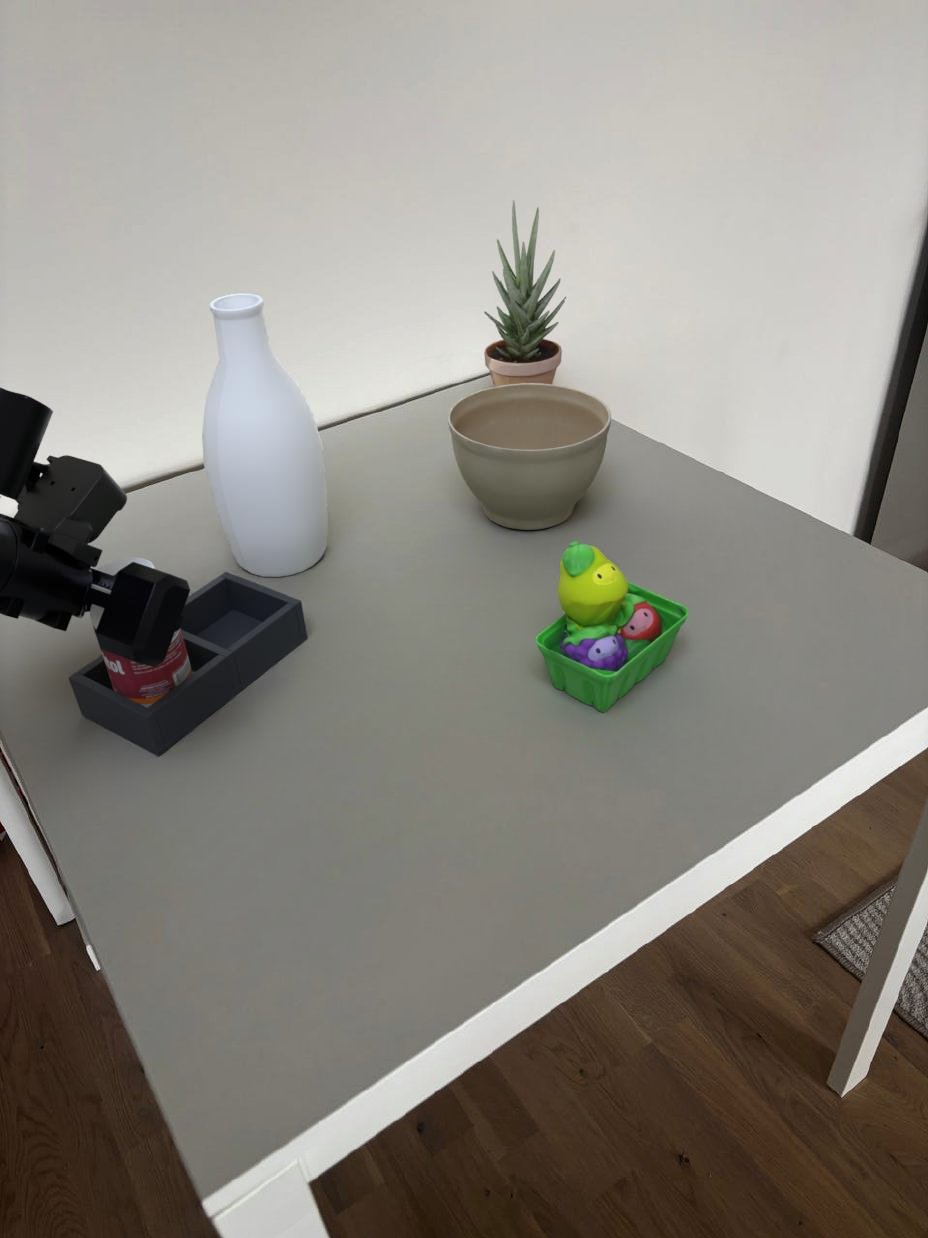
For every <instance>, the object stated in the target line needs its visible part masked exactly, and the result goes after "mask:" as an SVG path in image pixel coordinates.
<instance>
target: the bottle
mask: <svg viewBox="0 0 928 1238" xmlns="http://www.w3.org/2000/svg"><path fill="white" fill-rule="evenodd" d="M263 309H264V299H263V297H262V296H260V295H258V294H255V293H242V292H241V293H232V294H226V295H223V296H220V297H217V298H215V299H213V300H212V301H211V302H209V310H210V312H211V313H212V315H213V322H214V329H215V335H216V343H217V351H218V357H219V360H218V362H217V364H216V368H215V371H214V374H213V376H212V379H211V381H210V385H209V388H208V391H207V393H206V396H205V402H204V411H203V421H202V432H201V437H202V439H201V441H202V454H203V455H202V459H203V467H204V471H205V474H206V478H207V482H208V485H209V489H210V492H211V496H212V500H213V504H214V507H215V511H216V514H217V518H218V520H219V522H220V525H221V527H222V530H223V532H224V535H225V537H226V539H227V542H228V544H229V547H230V550H231V552H232V555H233V558H234V559H235V561H236V563H237V564H238V565H239V566H240V568H242V569H244V570H245V571H247V572H248V573H250V574H253V575H256V576H260V577H265V578H281V577H287V576H288V577H289V576H293V575H295V574H299V573H302V572H304V571H306V570H307V569H310V568H311V567H313V566H314V565H316V563H318V562H319V561H320V560H321V559H322V557H323V555H324V553H325V551H326V549H327V546H328V544H327V543H328V510H329V509H328V508H329V505H328V504H329V502H328V489H327V479H326V468H325V467H326V466H325V457H324V448H323V443H322V442H323V441H322V439H321V435H320V432H319V429H318V426H317V422H316V419H315V416H314V413H313V412H312V409H311V407H310V405H309V402H308V401H307V399H306V397H305V396H304V395H305V394H304V393H303V391H302V388H301V387H300V385H299V384H298V383H297V382H296V381H295V379H294V378H293V376H292V375H291V374H290V373H289V372H288V371H287V369H286V368H285V367H284V365H283V364H282V363H281V361H280V360H279V359H278V358H277V356H276V355H275V354H274V353H273V351H272V346H271V342H270V337H269V332H268V328H267V322H266V319H265V314H264V310H263Z"/></svg>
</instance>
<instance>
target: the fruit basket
mask: <svg viewBox="0 0 928 1238" xmlns="http://www.w3.org/2000/svg"><path fill="white" fill-rule="evenodd" d="M559 571H560V572H559V573H560V576H559V582H558V586H557V596H558V602H559V604H560V607H561V609H562V611H563V612H564V614H563V615H562V616H561V617H559V618H558V619H556V620H555V621H554V622H552V623H551V624H550V625H549V626H547V627H546V628H545V629H543V630H542V631H541V632H540V633H538V634H537V635H536V637H535V639H534V641H535V643H536V645H537V647H538V650H539V651H540V653H541V654H542V657H543V660H544V663H545V665H546V668H547V671H548V673H549V676H550V679H551V683H552V685H553V687H554V688H555V689H557V690H561V691H564V692H565V693H566V694H567V695H569V696H570V697H572V698H573V699H576V700H578V701H580V702H582V703H584V705H585V704H586V705H588V706H591V707H593V708H595V710H596V711H599V712H600V713H605V712H606V711H608V710H609V709H610V708H611V707H613V706H614V705H615V704H616V702H617V700H619V699H620V698H623V697H624V696H625V695H627V693H628V692H630V691H631V690H632V689H633V688H634V686H635V684H638V683H640V682H641V681H642V680H644V679H645V678H646V677H647V676H648V675H649V674H650V673H651V672H652V670H653V669H655V668H657V667H658V666H660V665H661V664H662V663H663V662H665V660H666V659H667V657H668V655H669V653H670V650H671V648H672V646H673V645H674V642H675V640H676V638H677V635H678V634H679V631H680V629H681V627H682V626H683V625H684V624H685V622H686V620H687V618H688V617H689V615H690V611H689V609H688V608H687V607H686V606H685V605H683V604H680V603H679V602H676V601H674V600H671V599H669V598H666V597H664V596H662V595H660V594H656V593H655V592H652V591H650V590H648V589H645V588H643V587H642V586H639V585H637V584H634V583H632V582H630V581H627V579H626V577H625V575H624V573H623V572H622V571H621V570H620V568H619V567H618V566H617V565H616V564H615V563H614V562H613V561H611V560H609V559H608V558H607V557H606V556H605V554H603V553H602V552H601V550H600V549H598V547H596V546H593V545H589V544H587V543H580V544H579V542H578V541H577V540H575V541H572V542H570V543H569V547H568V548H567V549H566V550H565V551H564V552H563V554H562V556H561V559H560V563H559Z"/></svg>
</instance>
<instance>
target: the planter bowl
mask: <svg viewBox="0 0 928 1238" xmlns="http://www.w3.org/2000/svg"><path fill="white" fill-rule="evenodd" d="M447 424H448V430H449V432H450V434H451V435H450V436H451V444H452V451H453V455H454V458H455V462H456V465H457V467H458V470H459V472H460V475H461V477H462V478H463V481H464V483H465V484H466V486H467V488H468V489H469V490H470V491H471V493H472V494H473V496H474V497H475V498H476V499H477V500H478V502H480V504H481V505H482V510H483V513H484V514H485V516H486V517H487V518H488V519H489V520H490V521H492V522H494V523H495V524H497V525H499V526H502V527H504V528H508V529H513V530H522V531H533V530H534V531H535V530H544V529H547V528H551V527H556V526H558V525H560V524H562V523H563V522H565V521H566V520H568V519H569V518H570V517H571V516H572V513H573V512H574V508H575V505H576V504H577V503H578V501H580V500H581V498H582V497H583V496H584V494H585V493H586V492H587V491H588V490H589V488H590V486H591V485H592V483H593V481H594V480H595V478H596V476H597V475H598V472H599V470H600V468H601V465H602V462H603V459H604V455H605V453H606V448H607V442H608V434H609V431H610V428H611V424H612V412H611V410H610V408H609V407H608V405H607V404H606V403H605V402H604V401H602V400H601V399H600V398H598V397H597V396H595V395H592V394H590V393H589V392H587V391H583V390H580V389H576V388H573V387H569V386H564V385H558V384H553V383H552V384H538V383H522V384H510V385H503V386H497V387H495V386H492V387H488V388H484V389H481V390H476V391H474V392H471V393H469V394H468V395H465V396H464V397H462V398H461V399H459V400H458V401H457V402H455V403H454V404H453V405H452V407H450V409H449V411H448V414H447Z"/></svg>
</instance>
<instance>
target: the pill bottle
mask: <svg viewBox="0 0 928 1238" xmlns="http://www.w3.org/2000/svg"><path fill="white" fill-rule="evenodd" d="M132 562H136V563H139V564H142V565H145V566H148V567H151V568H154V569H156V567H155V565H154V564H153V562H151V561H150V560H148V559H146V558H142V557H123V558H118V559H115V560H111V561H109V562H106V563H104V564H102V565H100V566H99V567H97V568H95V569H96V570H98V571H101V572H104V573H107V574H110V575H115V574H116V573H117V572H118V571H119V570H121V569H122V568H124V567H125V566H127V565H129V564H130V563H132ZM91 587H92V588H95V589H97V590H100V591H103V592H106V593H109V594H110V592H111V590H108V589H105V588H102V587H100V586H97V585H94V584H92V586H91ZM103 611H104V608H102V607H99V606H97V605H94V604H92V606H91V609H90V612H89V618H90V621H91V624H92V628H93V631H94V633H95V632H96V629H97V627H98V624H99V621H100V619H101V616H102V613H103ZM99 649H100V651H101V655H103V658H104V661H105V664H106V667H107V670H108V673H109V677H110V680H111V683H112V686H113V690H114V691H115V692H117V693H119V694H121V695H123V696H125V697H127V698H129V699H130V700H132V701H134V702H136V703H138V704H140V705H142V706H144V707H146V708H148V707H149V706H151V705H152V704H153V703H155V702H156V701H157V700H159V699H160V698H161V697H163V696H164V695H165V694H167V693H168V692H169V691H171V690H172V689H173V688H175V687H176V686H177V685H179V684H180V683H182V682H183V681H184V680H186V679H187V678H188V677H190V676H191V675H192V669H191V665H190V661H189V658H188V654H187V650H186V646H185V642H184V638H183V635H182V631H181V627H180V629H179V630H178V631H176V632H175V633H174V636H173V638H172V641H171V644H170V646H169V649H168V652H167V654H166V657H165V660H164V662H162V663H161V664H159V665H157V666H156V667H152V666H148V665H144V664H140V663H136V662H133V661H131V660H128V659H126V658H123V657H121V656H118V655H116V654H113V653H111V652H108V651H106V650H103V649H101V648H100V647H99Z"/></svg>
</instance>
